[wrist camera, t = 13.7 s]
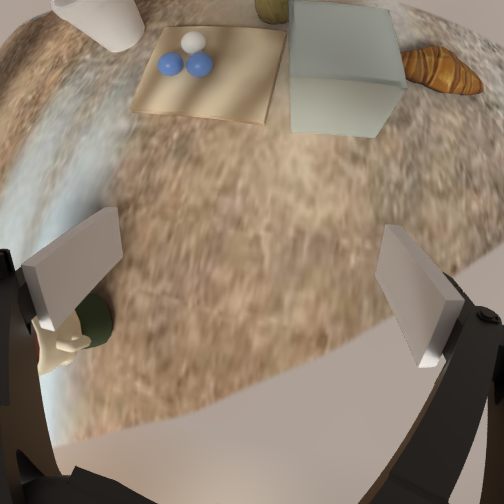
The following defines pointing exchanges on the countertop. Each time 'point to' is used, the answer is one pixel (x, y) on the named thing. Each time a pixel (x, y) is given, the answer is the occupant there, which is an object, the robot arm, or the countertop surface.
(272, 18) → the fennel bulb
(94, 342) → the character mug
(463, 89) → the croissant
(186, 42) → the marble white
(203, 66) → the blue marble
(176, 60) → the blue marble
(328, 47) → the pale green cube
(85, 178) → the countertop surface
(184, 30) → the board
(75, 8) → the foam cup
